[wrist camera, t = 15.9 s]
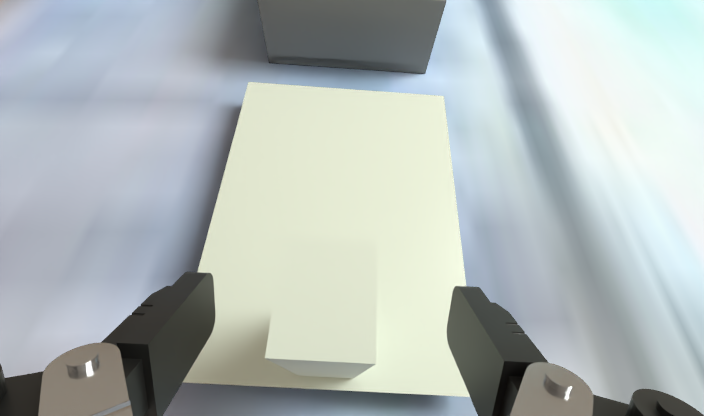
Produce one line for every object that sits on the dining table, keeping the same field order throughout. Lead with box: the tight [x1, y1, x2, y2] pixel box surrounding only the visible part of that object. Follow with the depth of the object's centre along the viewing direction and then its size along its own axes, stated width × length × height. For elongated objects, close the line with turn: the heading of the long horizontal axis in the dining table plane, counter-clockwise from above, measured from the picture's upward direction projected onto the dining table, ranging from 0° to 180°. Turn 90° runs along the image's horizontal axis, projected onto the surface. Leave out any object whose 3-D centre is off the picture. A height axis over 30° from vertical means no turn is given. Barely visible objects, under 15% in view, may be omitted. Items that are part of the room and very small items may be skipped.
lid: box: [182, 82, 470, 397], centre depth 17 cm, size 19×14×11 cm
